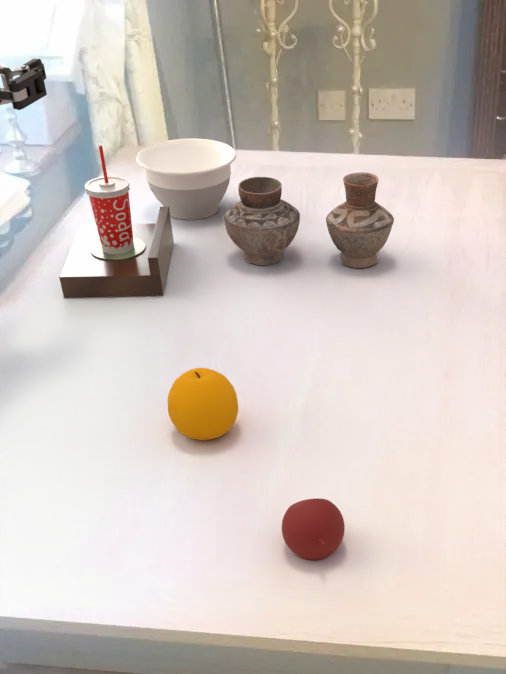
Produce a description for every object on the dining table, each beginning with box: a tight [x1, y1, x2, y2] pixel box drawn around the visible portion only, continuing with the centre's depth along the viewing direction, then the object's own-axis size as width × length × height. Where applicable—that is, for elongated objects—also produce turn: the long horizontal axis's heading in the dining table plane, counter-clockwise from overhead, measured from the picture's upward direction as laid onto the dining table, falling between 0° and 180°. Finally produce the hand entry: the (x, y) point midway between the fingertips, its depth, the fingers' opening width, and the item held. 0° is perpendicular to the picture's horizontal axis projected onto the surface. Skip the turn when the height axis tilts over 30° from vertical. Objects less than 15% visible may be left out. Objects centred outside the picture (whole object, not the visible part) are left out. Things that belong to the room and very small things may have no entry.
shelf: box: [58, 206, 175, 298], centre depth 131 cm, size 14×18×6 cm
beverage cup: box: [84, 144, 134, 254], centre depth 126 cm, size 6×6×14 cm
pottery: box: [223, 171, 395, 269], centre depth 131 cm, size 11×25×12 cm, turn 86°
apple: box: [167, 367, 239, 441], centre depth 101 cm, size 8×8×8 cm
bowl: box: [135, 137, 237, 221], centre depth 146 cm, size 16×16×8 cm
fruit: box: [281, 497, 346, 561], centre depth 86 cm, size 6×6×8 cm
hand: (5, 66), depth 103 cm, fingers open, 8 cm apart
